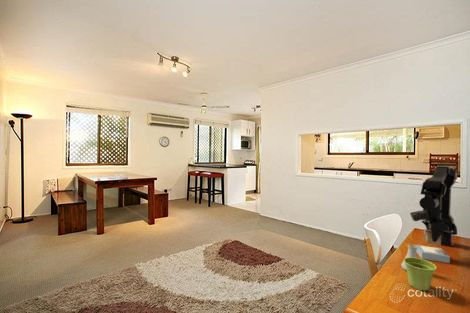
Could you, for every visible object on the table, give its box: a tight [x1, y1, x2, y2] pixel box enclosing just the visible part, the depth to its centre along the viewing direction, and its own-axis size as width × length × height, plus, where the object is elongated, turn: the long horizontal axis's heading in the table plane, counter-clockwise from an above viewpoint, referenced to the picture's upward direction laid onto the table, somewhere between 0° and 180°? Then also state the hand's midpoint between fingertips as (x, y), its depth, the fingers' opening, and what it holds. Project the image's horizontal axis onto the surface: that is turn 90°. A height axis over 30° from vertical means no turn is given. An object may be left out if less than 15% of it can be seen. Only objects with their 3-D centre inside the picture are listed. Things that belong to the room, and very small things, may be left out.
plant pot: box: [403, 257, 437, 292], centre depth 86 cm, size 9×9×9 cm
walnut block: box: [423, 228, 441, 246], centre depth 110 cm, size 5×5×5 cm
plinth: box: [415, 244, 451, 264], centre depth 111 cm, size 10×10×3 cm
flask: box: [400, 244, 418, 272], centre depth 98 cm, size 7×7×10 cm
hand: (432, 239), depth 110 cm, fingers closed on walnut block, 5 cm apart
